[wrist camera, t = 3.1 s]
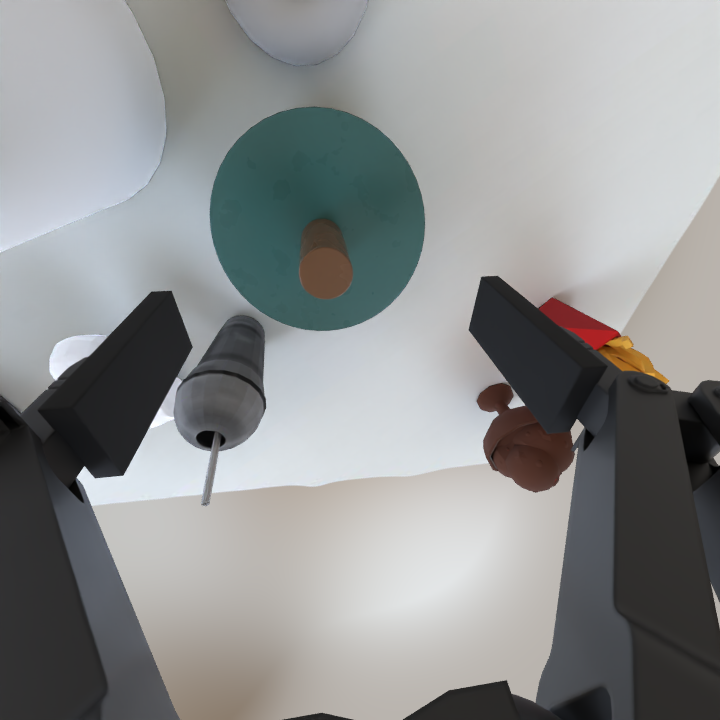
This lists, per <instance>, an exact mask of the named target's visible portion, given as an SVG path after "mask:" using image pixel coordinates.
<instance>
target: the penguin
mask: <svg viewBox="0 0 720 720" xmlns="http://www.w3.org/2000/svg"><path fill="white" fill-rule="evenodd" d="M107 337H108V336H104V335H94V334H93V335H78V336H73V337H69V338H66V339H64V340H62V341H60V342H59V343H57V344H56V345H55V347H54V349H53V352H52V354H51V356H50V360H49V363H50V374H51V375H52V377H53V378H54V380H58V379H57V378H58V377H59V376H60V375H61V374H62V373H63V372H64V371H65V370H66V369H67V368H68V367H70V366H71V365H73V364H75V363H76V362H78V361H80V360H81V359H83V358H84V357H89V356H90V355H91V354H92V353H93V352H94V351H95V350H96V349H97V348H98V346H99V345H100V344H101V343H102V342H103V341H104V340H105V339H106V338H107ZM181 383H182V381H181V379H179V378H177V377H176V379H175V381H174V383H173V385H172V386H171V388H170V390H169V392H168V394H167V396H166V398H165V399H164V401H163V403H162V405H161V407H160V409H159V410H158V412H157V414H156V416H155V418H154V420H153V422H152V423H151V425H150V427H149V429H150V428H154V427H157V426H160V425H162V424H164V423H166V422H168V421H171V420H175V419H174V414H173V411H174V404H175V397H176V392H177V388H178V386H179V385H180V384H181Z"/></svg>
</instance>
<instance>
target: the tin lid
mask: <svg viewBox="0 0 720 720" xmlns="http://www.w3.org/2000/svg"><path fill="white" fill-rule="evenodd" d="M210 226H211V233H212V238H213V243H214V247H215V250H216V253H217V256H218V259H219V261H220V263H221V265H222V267H223V269H224V271H225V273H226V274H227V276H228V278H229V279H230V281H231V282H232V284H233V285H234V286H235V288H236V289H237V290H238V291H239V292H240V294H241V295H242V296H243V297H244V298H245V299H246V300H247V301H248V302H249V303H250V304H252V305H253V306H254V307H256V308H257V309H258V310H259V311H261V312H262V313H264V314H266V315H267V316H269V317H271V318H273V319H275V320H277V321H279V322H281V323H284V324H287V325H289V326H292V327H296V328H301V329H305V330H315V331H329V330H338V329H343V328H347V327H351V326H354V325H357V324H360V323H362V322H364V321H366V320H368V319H370V318H372V317H374V316H375V315H377V314H378V313H380V312H381V311H383V310H384V309H385V308H386V307H388V306H389V305H390V304H391V303H392V302H393V301H394V300H395V299H396V298H397V297H398V296H399V295H400V293H401V292H402V291H403V289H404V288H405V287H406V285H407V284H408V282H409V280H410V279H411V277H412V275H413V273H414V271H415V268H416V266H417V264H418V261H419V258H420V254H421V251H422V246H423V241H424V230H425V217H424V206H423V201H422V196H421V192H420V189H419V186H418V183H417V180H416V178H415V176H414V173H413V171H412V169H411V167H410V165H409V164H408V162H407V161H406V159H405V158H404V156H403V154H402V153H401V151H400V150H399V149H398V148H397V147H396V146H395V145H394V143H393V142H392V141H391V140H390V139H389V138H388V137H387V136H385V135H384V134H383V133H382V132H381V131H380V130H378V129H377V128H376V127H374V126H373V125H371V124H369V123H368V122H366V121H365V120H363V119H361V118H359V117H356V116H354V115H352V114H349V113H347V112H343V111H339V110H335V109H332V108H322V107H303V108H294V109H290V110H286V111H282V112H279V113H277V114H274V115H272V116H270V117H268V118H265V119H263V120H262V121H260V122H259V123H257V124H256V125H254V126H253V127H251V128H250V129H249V130H248V131H247V132H246V133H245V134H243V135H242V136H241V137H240V138H239V139H238V140H237V141H236V143H235V144H234V145H233V147H232V148H231V149H230V150H229V152H228V153H227V155H226V157H225V159H224V160H223V162H222V164H221V166H220V168H219V170H218V173H217V176H216V179H215V181H214V185H213V190H212V195H211V202H210Z"/></svg>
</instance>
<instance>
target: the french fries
mask: <svg viewBox="0 0 720 720" xmlns="http://www.w3.org/2000/svg"><path fill="white" fill-rule="evenodd" d="M539 310H540V311H541V312H542V313H544V314H545V315H546V316H547V317H549V318H550V319H551V320H552V321H553V322H555V323H556V324H557V325H558V326H561V327H563V328H565V329H567V330H570V331H572V332H574V333H575V334H577V335H578V336H579V337H580V338H582V339H583V340H584V341H585V343H588V344H589V345H590V346H592V347H593V350H597V351H598V352H599V353H600V354H602V355H603V356H604V357H606V358H607V359H608V360H609V361H611V362H612V363H613V364H614V365H616V366H617V367H618V368H619V369H621V370H622V371H637V372H642V373H645V374H648V375H651V376H653V377H655V378H657V379H659V380H661V381H663V382H664V383H665V384H667V383H668V382H669V380H668V379H666V378H665V377H664V376H663V375H661V374H660V373H659V372H657V371H656V370H655V369H654V368H653V365H652V363H651V361H650V360H649V358H648V357H646V356H645V355H643V354H642V353H640V352H638V351H636V350H634V349H632V348H631V347H633V343H632V341H631V340H630V338H629V337H628V336H623V337H621V335H620V334H619V332H618V331H616V330H614V329H612V328H611V327H609V326H607V325H605V324H603V323H601V322H599V321H597V320H595V319H593V318H591V317H589V316H587V315H585V314H583V313H582V312H580V311H578V310H576V309H574V308H572V307H570V306H568V305H566V304H564V303H562V302H560V301H558V300H556V299H554V298H553V297H552V298H551V299H550V300H549V301H547V302H546V303H545V304H544V305H542V306H541V307H540V308H539Z"/></svg>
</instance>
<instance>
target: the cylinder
mask: <svg viewBox="0 0 720 720" xmlns="http://www.w3.org/2000/svg"><path fill="white" fill-rule="evenodd" d="M166 134H167V133H166V114H165V98H164V94H163V90H162V87H161V83H160V79H159V75H158V72H157V68H156V64H155V61H154V57H153V55H152V53H151V51H150V49H149V47H148V44H147V42H146V40H145V38H144V36H143V34H142V32H141V30H140V28H139V25H138V23H137V21H136V19H135V17H134V15H133V13H132V11H131V10H130V8H129V7H128V5H127V4H126V2H125V1H124V0H0V252H2V251H5V250H7V249H10V248H12V247H15V246H17V245H19V244H22V243H24V242H27V241H29V240H32V239H34V238H36V237H39V236H41V235H44V234H46V233H49V232H51V231H53V230H56V229H58V228H61V227H63V226H65V225H68V224H70V223H73V222H75V221H78V220H80V219H82V218H85V217H87V216H90V215H92V214H95V213H97V212H99V211H102V210H104V209H107V208H109V207H111V206H114V205H116V204H119V203H121V202H124V201H126V200H128V199H129V198H131V197H132V196H133V195H135V194H136V193H137V192H138V191H140V190H141V189H142V188H144V187H145V186H146V185H147V184H148V182H149V181H150V179H151V177H152V176H153V174H154V172H155V171H156V169H157V167H158V166H159V164H160V162H161V157H162V152H163V148H164V143H165V139H166Z"/></svg>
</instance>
